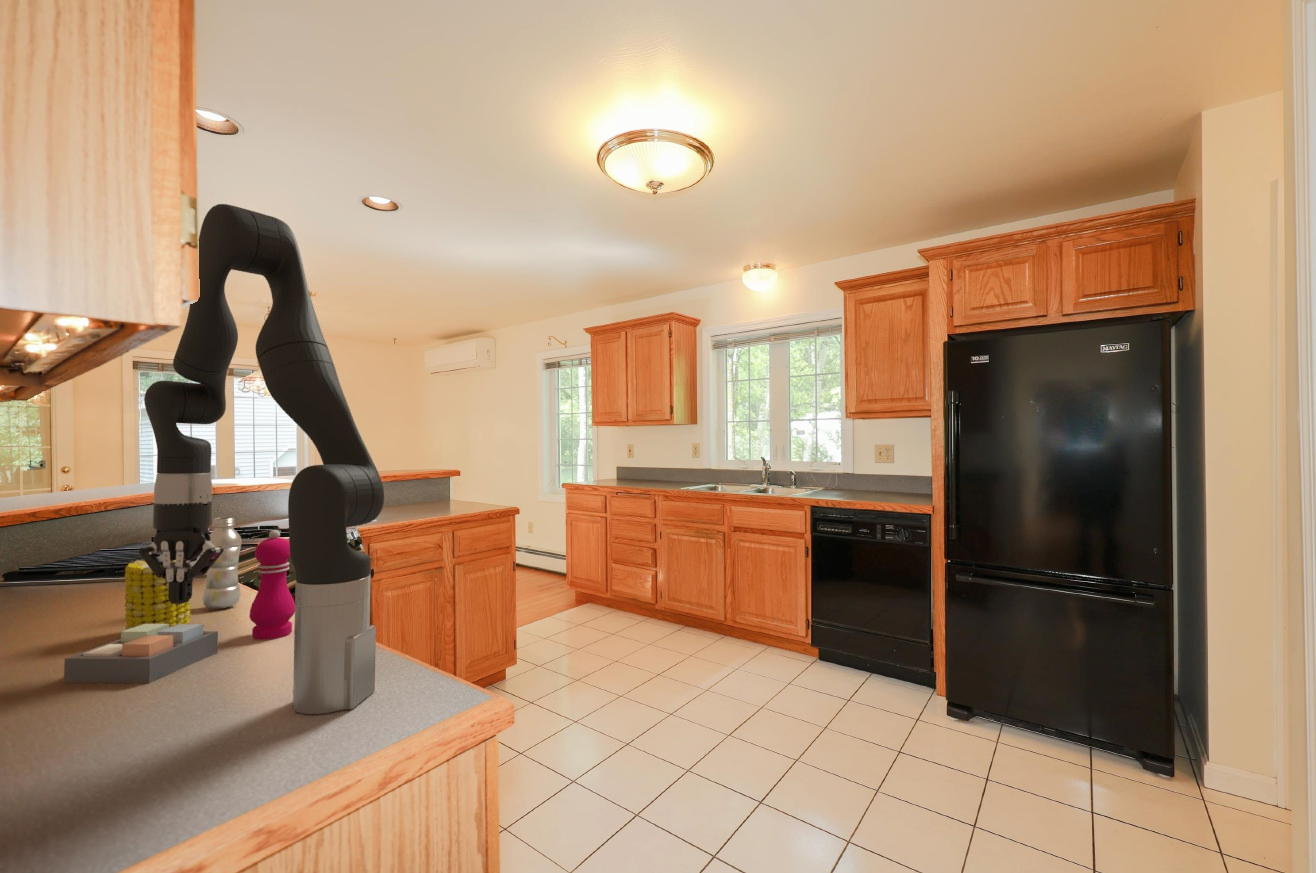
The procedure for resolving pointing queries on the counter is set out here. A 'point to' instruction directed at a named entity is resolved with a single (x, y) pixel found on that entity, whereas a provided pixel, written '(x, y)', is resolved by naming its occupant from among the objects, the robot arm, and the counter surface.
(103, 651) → the key
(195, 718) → the counter surface
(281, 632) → the pepper mill
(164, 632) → the key
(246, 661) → the counter surface
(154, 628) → the key
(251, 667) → the counter surface
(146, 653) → the key
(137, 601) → the food
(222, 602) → the plastic bottle
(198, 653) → the keypad
